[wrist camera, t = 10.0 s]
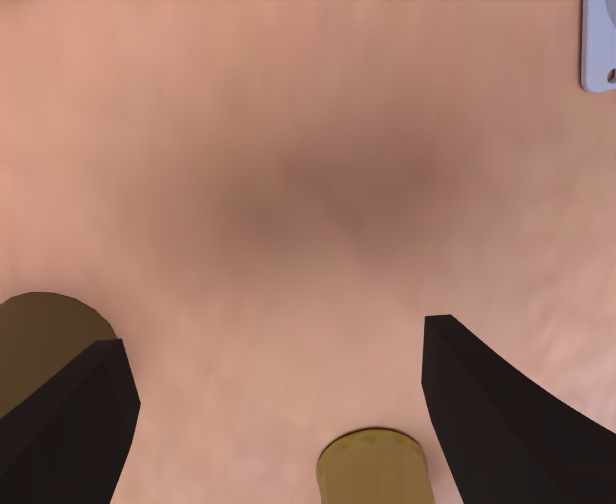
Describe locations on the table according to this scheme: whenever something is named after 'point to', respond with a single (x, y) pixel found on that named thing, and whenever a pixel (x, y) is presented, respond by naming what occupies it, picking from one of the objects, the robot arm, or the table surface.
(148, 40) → the table surface
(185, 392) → the table surface
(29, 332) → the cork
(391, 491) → the vase
